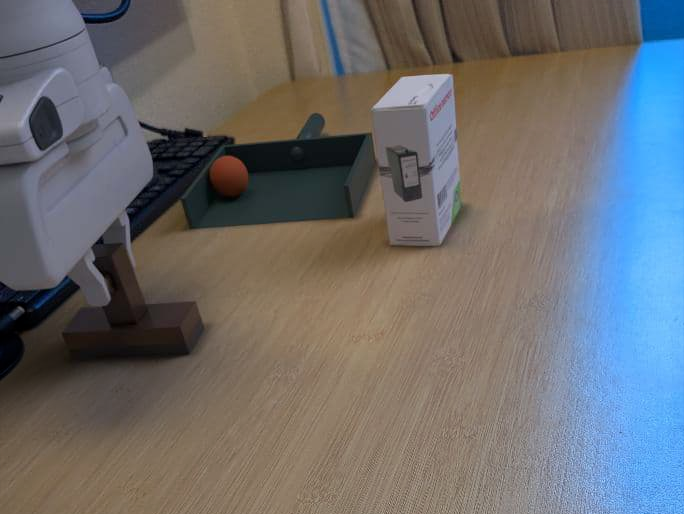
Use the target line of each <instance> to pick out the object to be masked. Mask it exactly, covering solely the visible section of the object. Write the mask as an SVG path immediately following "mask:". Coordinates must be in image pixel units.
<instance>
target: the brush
mask: <svg viewBox="0 0 684 514" xmlns="http://www.w3.org/2000/svg"><path fill="white" fill-rule="evenodd" d="M91 249H92V251H93V254H94V256H95V260H94V261H93V262H92V263H93V265H94V266H95V267H96V268H97V270H98V271H99V272H100V273H101V275H105V274H109V276H110V279H111V281H112V286H113V287H114V289H115V295H114V297H113V298H112V299H111V301H110V302H109V303H108V304H107V305H106V306H90V307H89V306H88V307H80V309H79V310H78V311H77V312H76V313H75V314H74V316H73V317H72V318H71V320H70V321H69V323H67V325H66V326H65V327H64V328H63V330H62V331H61V332H60V334H61V336H62V339H63V341H64V343H65V345H66V347H67V350H68V351H69V354H70V355H71V358H72V360H93V359H95V360H96V359H115V358H117V359H118V358H138V357H139V358H141V357H142V358H143V357H160V356H161V357H162V356H165V357H166V356H187V355H190V354H191V353H192V351H193V349H194V348H195V346H196V345H197V342H198V341H199V339H200V337H201V336H202V334H203V332H204V330H205V325H204V323H203V320H202V316H201V313H200V310H199V307H198V304H197V301H196V300H193V301H180V302H179V301H178V302H177V301H176V302H160V303H146V301H145V298H144V295H143V292H142V290H141V287H140V284H139V282H138V279H137V276H136V274H135V269H134V270H133V268H132V265H131V262H130V260H129V257H128V254H127V252H126V249H125V246H124V243H111V244H104V243H100V244H97V243H96V244H94V245H93V246H92V247H91Z"/></svg>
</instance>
